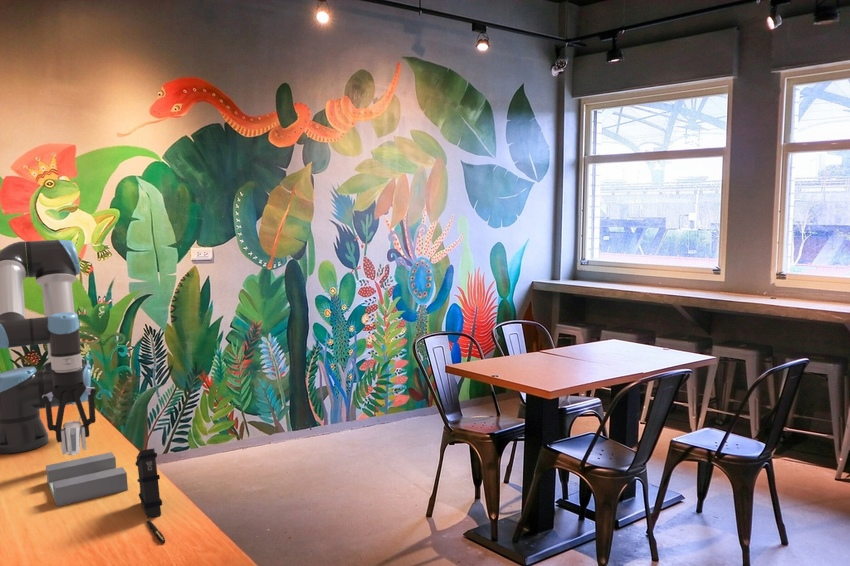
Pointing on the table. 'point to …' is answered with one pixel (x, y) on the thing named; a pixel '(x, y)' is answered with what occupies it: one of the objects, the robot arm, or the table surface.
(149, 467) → the black ribbed column
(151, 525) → the fountain pen
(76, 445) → the milkshake
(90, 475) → the frame
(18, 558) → the table surface
